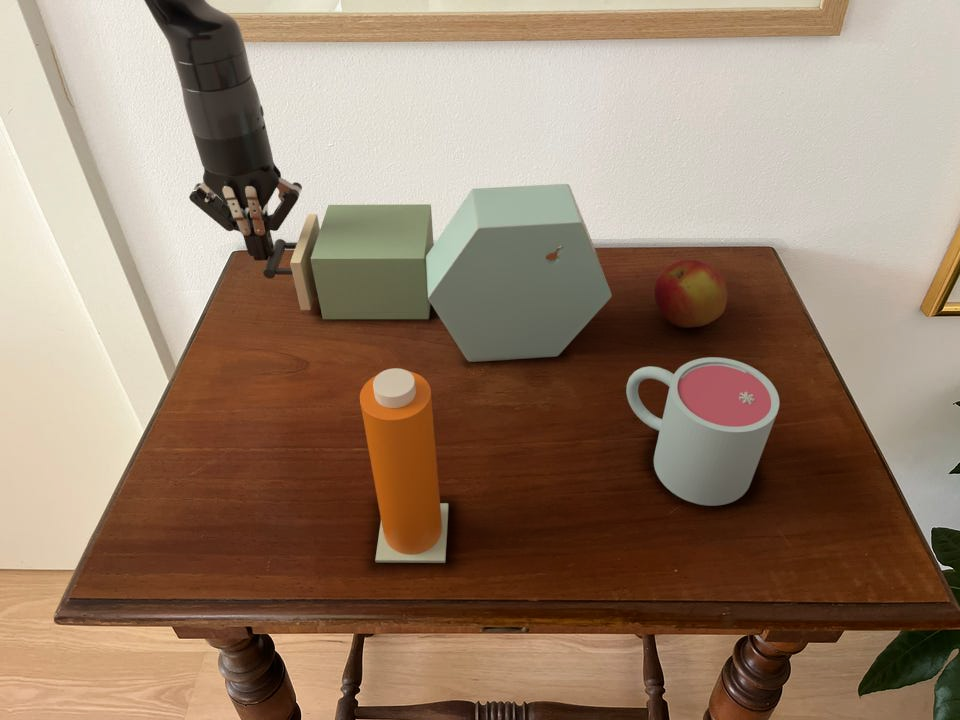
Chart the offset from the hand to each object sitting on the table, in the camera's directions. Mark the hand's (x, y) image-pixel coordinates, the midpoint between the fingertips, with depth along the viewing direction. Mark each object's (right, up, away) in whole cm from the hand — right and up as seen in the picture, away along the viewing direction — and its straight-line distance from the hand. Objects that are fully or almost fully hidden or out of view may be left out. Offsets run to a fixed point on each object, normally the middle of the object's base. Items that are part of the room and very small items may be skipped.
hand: (263, 256), depth 88 cm
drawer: (+9, -3, +2) cm, 10 cm away
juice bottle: (+21, -28, -24) cm, 42 cm away
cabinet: (+14, -4, +3) cm, 15 cm away
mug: (+46, -22, -18) cm, 54 cm away
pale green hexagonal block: (+31, -10, -4) cm, 32 cm away
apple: (+51, -8, -2) cm, 52 cm away
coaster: (+21, -28, -24) cm, 42 cm away
